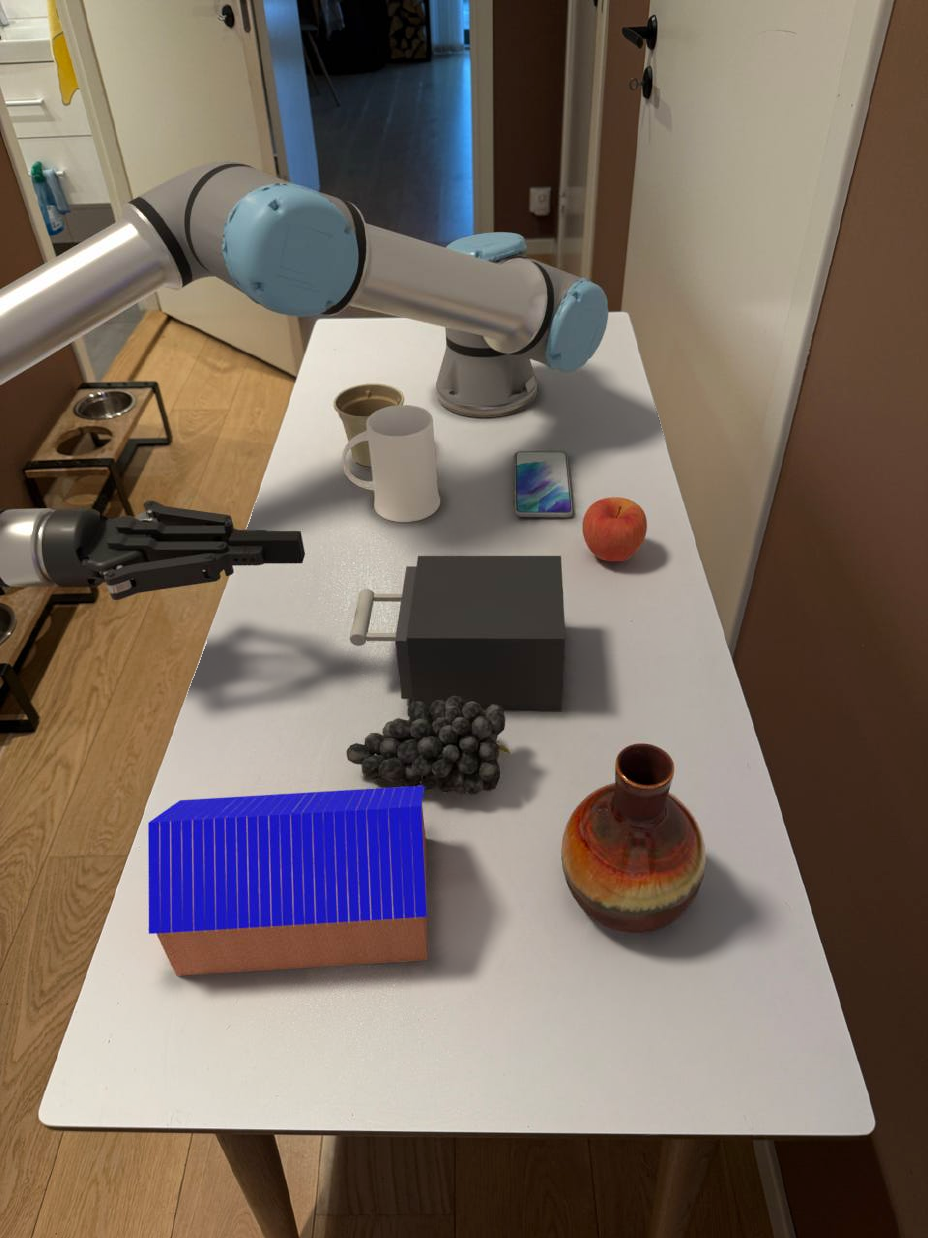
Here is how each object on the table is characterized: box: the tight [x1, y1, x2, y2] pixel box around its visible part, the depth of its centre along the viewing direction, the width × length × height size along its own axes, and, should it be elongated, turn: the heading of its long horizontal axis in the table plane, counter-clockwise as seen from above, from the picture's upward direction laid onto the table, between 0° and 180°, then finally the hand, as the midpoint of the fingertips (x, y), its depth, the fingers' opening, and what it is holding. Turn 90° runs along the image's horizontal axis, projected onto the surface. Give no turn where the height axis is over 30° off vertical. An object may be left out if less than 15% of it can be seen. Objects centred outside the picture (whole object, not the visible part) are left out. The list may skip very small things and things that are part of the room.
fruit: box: [345, 696, 512, 796], centre depth 83 cm, size 9×8×15 cm
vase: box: [560, 742, 707, 934], centre depth 70 cm, size 11×11×15 cm
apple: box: [581, 496, 648, 562], centre depth 107 cm, size 7×7×8 cm
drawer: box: [349, 565, 417, 700], centre depth 93 cm, size 18×11×8 cm, turn 87°
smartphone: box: [513, 450, 574, 518], centre depth 121 cm, size 7×1×15 cm
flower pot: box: [333, 382, 405, 468], centre depth 126 cm, size 9×9×9 cm
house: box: [147, 785, 429, 977], centre depth 71 cm, size 12×20×12 cm, turn 93°
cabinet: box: [406, 555, 566, 712], centre depth 92 cm, size 15×13×10 cm
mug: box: [341, 404, 441, 523], centre depth 115 cm, size 12×8×12 cm
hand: (301, 547), depth 87 cm, fingers closed
